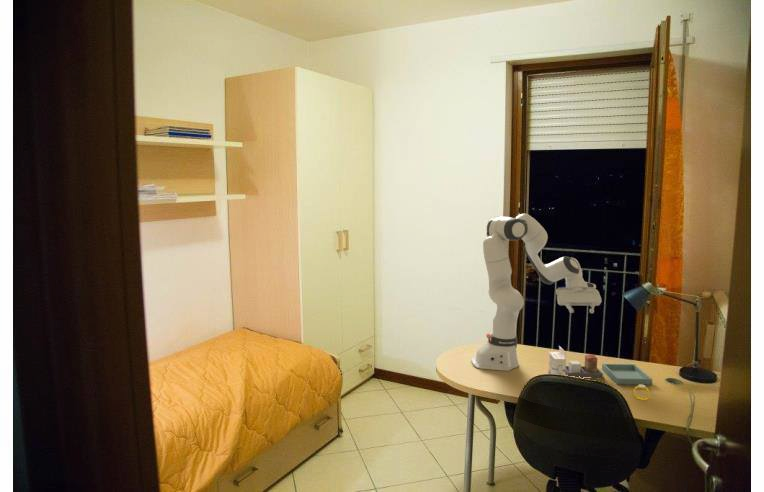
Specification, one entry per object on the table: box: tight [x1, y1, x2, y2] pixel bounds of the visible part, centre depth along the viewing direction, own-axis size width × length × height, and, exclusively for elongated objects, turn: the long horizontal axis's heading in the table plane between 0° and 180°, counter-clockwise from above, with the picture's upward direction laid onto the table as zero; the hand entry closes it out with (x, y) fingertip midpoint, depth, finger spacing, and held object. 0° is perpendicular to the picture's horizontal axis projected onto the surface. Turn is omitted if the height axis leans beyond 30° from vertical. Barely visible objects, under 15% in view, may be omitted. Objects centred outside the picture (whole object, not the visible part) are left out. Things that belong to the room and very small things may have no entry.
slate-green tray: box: [601, 363, 653, 387], centre depth 213 cm, size 15×17×3 cm
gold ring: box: [632, 384, 651, 401], centre depth 193 cm, size 6×3×6 cm, turn 57°
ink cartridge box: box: [547, 345, 567, 376], centre depth 211 cm, size 9×5×15 cm, turn 179°
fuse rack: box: [565, 365, 604, 379], centre depth 217 cm, size 15×8×2 cm, turn 86°
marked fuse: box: [584, 354, 598, 373], centre depth 216 cm, size 4×4×9 cm
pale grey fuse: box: [568, 360, 582, 372], centre depth 217 cm, size 4×4×6 cm
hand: (582, 312), depth 227 cm, fingers open, 8 cm apart
